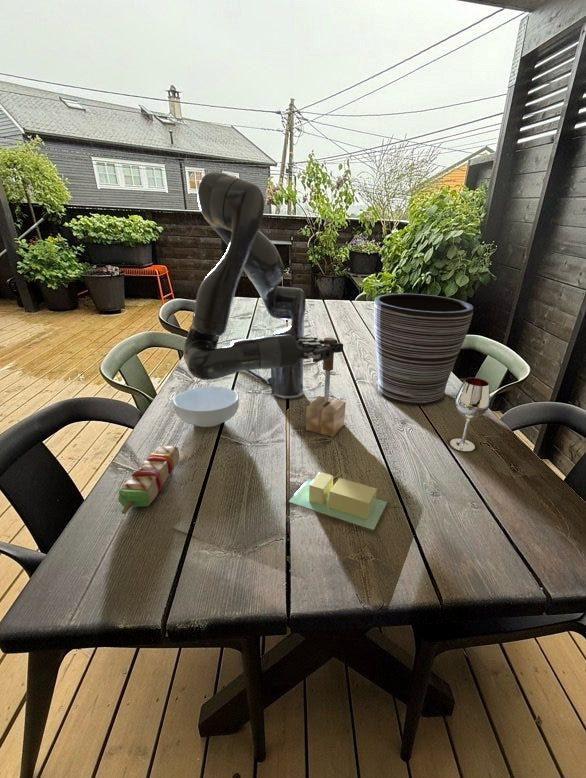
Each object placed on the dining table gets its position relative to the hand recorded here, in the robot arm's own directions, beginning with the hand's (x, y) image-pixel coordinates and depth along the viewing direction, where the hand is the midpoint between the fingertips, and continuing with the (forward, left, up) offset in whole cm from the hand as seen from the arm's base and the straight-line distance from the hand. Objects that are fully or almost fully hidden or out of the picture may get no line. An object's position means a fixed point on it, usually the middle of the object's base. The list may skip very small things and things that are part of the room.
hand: (339, 345), depth 101 cm
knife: (-2, -2, -15) cm, 15 cm away
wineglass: (+34, +6, -23) cm, 42 cm away
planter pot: (+13, +35, -23) cm, 44 cm away
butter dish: (+14, -31, -23) cm, 41 cm away
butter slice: (+10, -31, -22) cm, 40 cm away
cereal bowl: (-32, -14, -23) cm, 42 cm away
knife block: (-2, -2, -23) cm, 23 cm away
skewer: (-23, -44, -23) cm, 55 cm away
